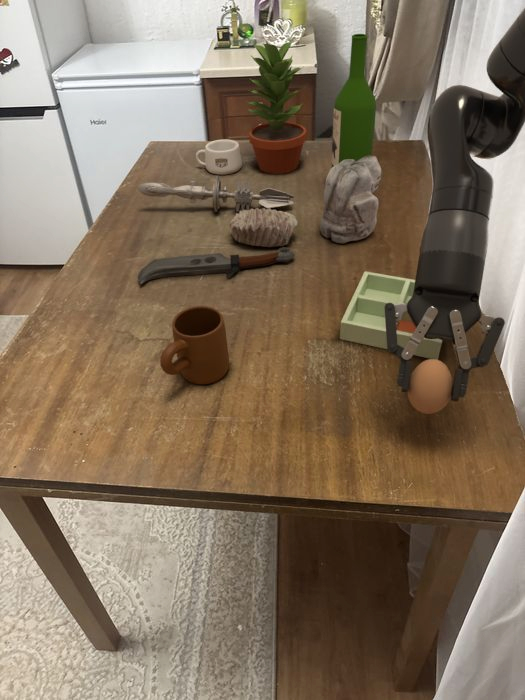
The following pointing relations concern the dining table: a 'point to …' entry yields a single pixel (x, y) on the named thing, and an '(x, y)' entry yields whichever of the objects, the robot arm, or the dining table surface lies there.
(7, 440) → the dining table surface
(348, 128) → the wine bottle
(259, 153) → the potted plant
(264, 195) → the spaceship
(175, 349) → the mug
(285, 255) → the knife
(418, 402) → the egg
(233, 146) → the mug
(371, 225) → the figurine
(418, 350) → the egg tray
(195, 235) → the dining table surface
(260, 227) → the seashell
